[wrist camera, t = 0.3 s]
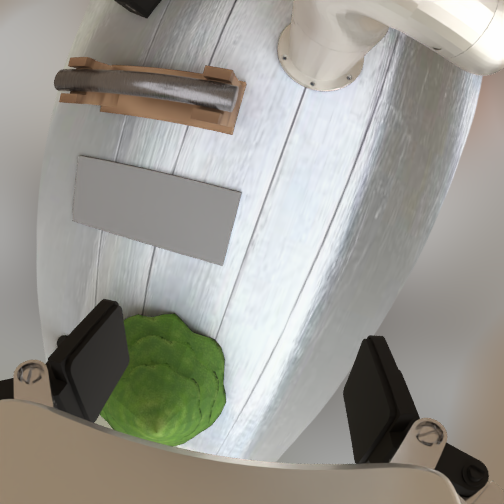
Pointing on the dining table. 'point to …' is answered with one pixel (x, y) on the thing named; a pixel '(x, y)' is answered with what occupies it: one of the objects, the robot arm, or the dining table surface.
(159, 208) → the mat
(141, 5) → the digital camera
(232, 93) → the rod
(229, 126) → the rack
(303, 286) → the dining table surface
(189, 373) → the decorative tree
